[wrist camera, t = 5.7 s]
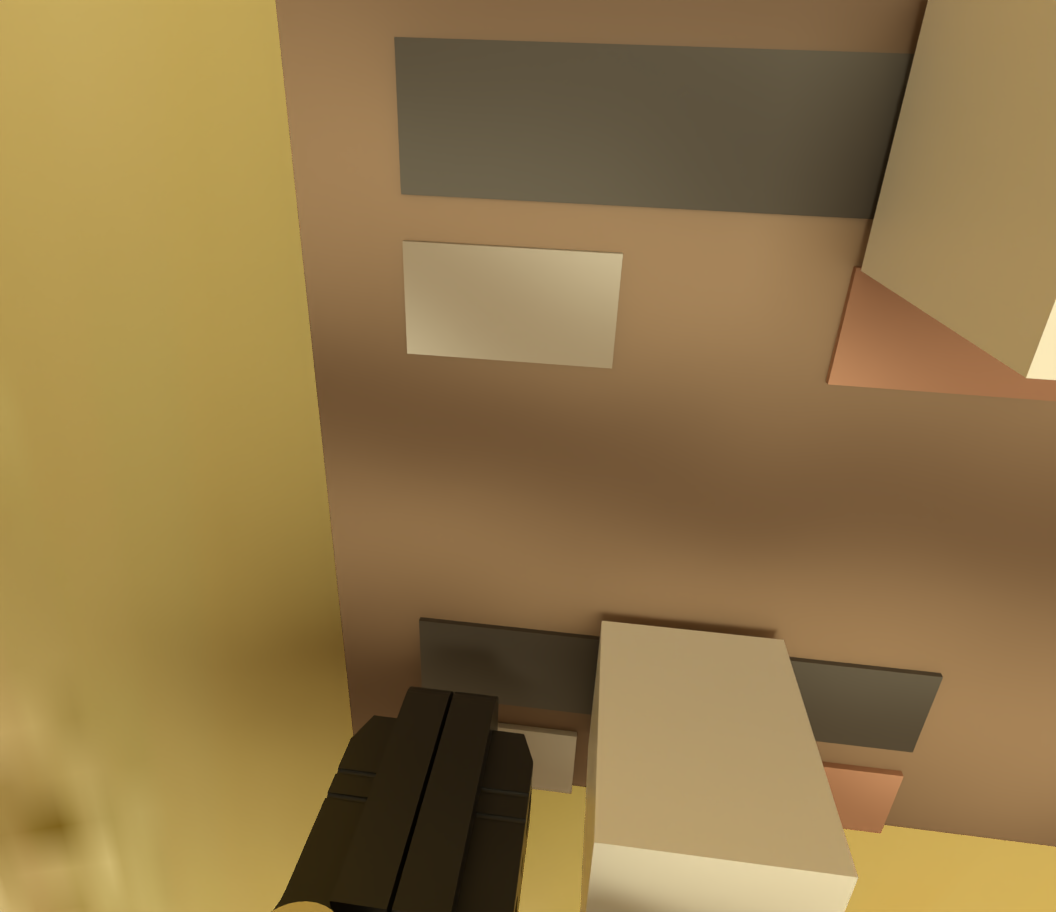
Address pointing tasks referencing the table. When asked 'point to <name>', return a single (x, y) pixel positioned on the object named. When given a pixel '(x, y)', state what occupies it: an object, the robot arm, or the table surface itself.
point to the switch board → (664, 386)
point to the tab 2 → (977, 180)
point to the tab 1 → (706, 780)
